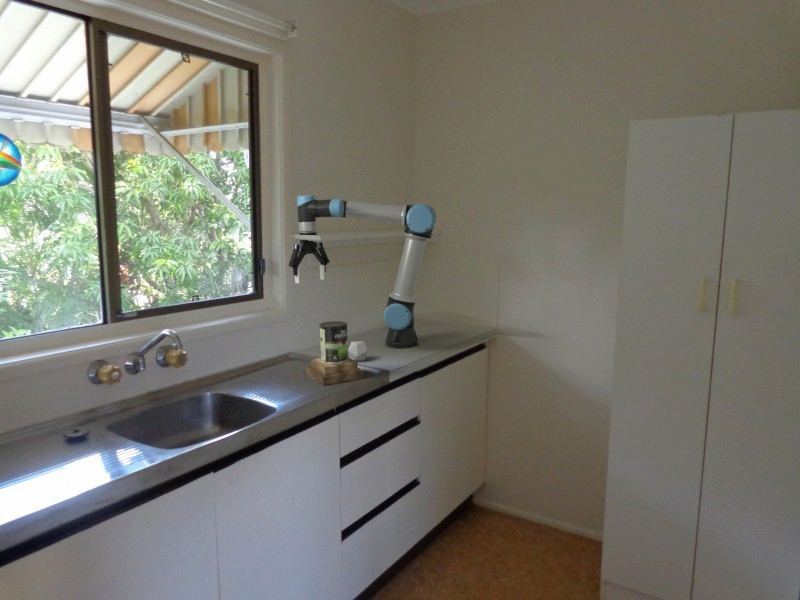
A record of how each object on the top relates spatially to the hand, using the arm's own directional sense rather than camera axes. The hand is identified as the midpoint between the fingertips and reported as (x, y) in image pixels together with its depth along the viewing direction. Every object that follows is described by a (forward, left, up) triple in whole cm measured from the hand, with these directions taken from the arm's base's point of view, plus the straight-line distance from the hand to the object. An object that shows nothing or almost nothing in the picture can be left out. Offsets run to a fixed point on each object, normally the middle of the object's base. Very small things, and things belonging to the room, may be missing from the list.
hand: (310, 281), depth 252 cm
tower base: (+9, +40, -31) cm, 52 cm away
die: (-9, +24, -32) cm, 41 cm away
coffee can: (+8, +40, -25) cm, 48 cm away
